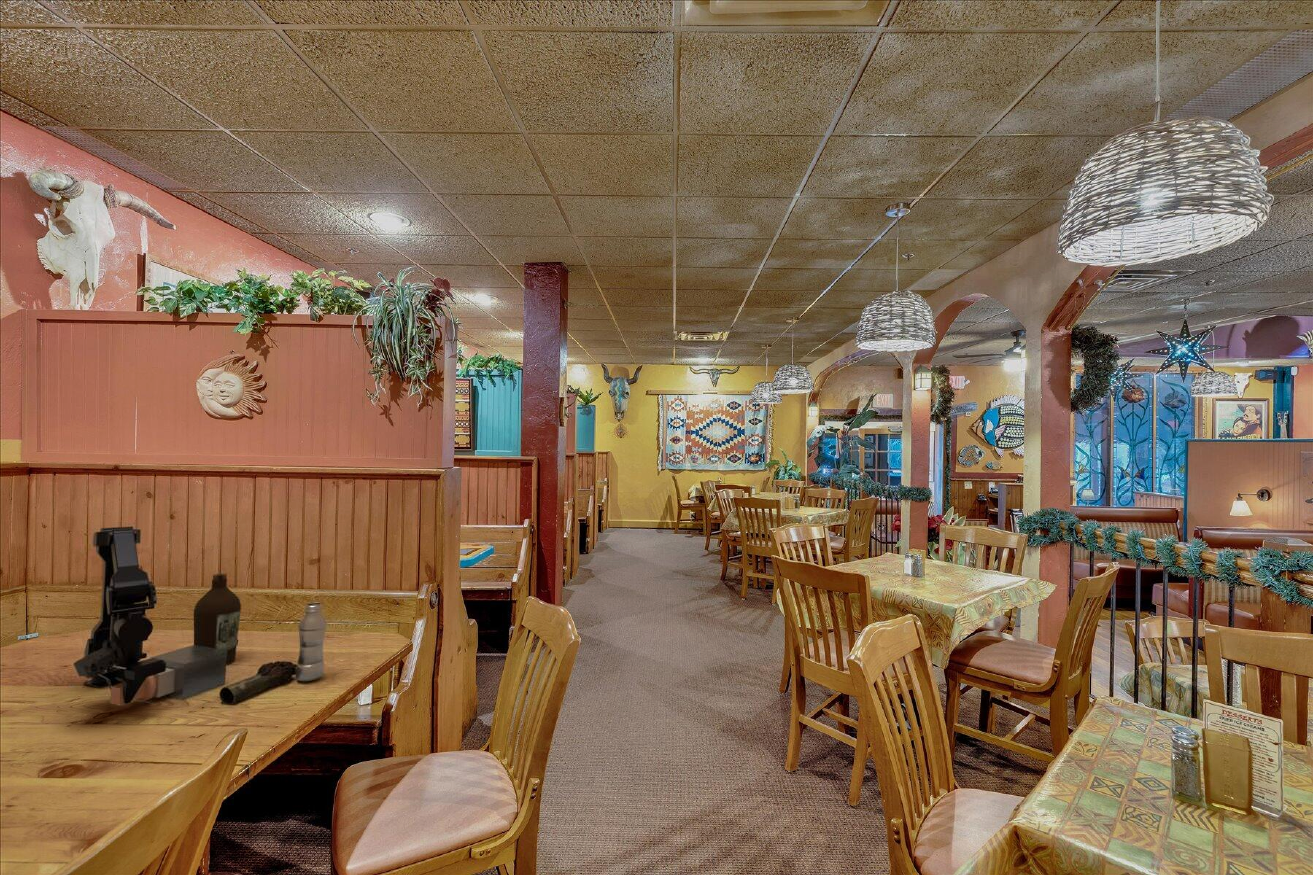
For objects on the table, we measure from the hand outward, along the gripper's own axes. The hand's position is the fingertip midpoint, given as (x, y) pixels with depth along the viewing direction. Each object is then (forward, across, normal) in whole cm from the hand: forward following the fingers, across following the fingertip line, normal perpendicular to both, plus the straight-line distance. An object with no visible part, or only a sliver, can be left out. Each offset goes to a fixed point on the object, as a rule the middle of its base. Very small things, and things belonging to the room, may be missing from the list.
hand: (122, 701), depth 130 cm
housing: (+2, 0, +14) cm, 14 cm away
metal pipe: (+2, +17, +20) cm, 26 cm away
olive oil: (+2, -11, +28) cm, 30 cm away
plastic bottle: (+2, +23, +29) cm, 37 cm away
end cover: (+1, 0, +6) cm, 6 cm away
